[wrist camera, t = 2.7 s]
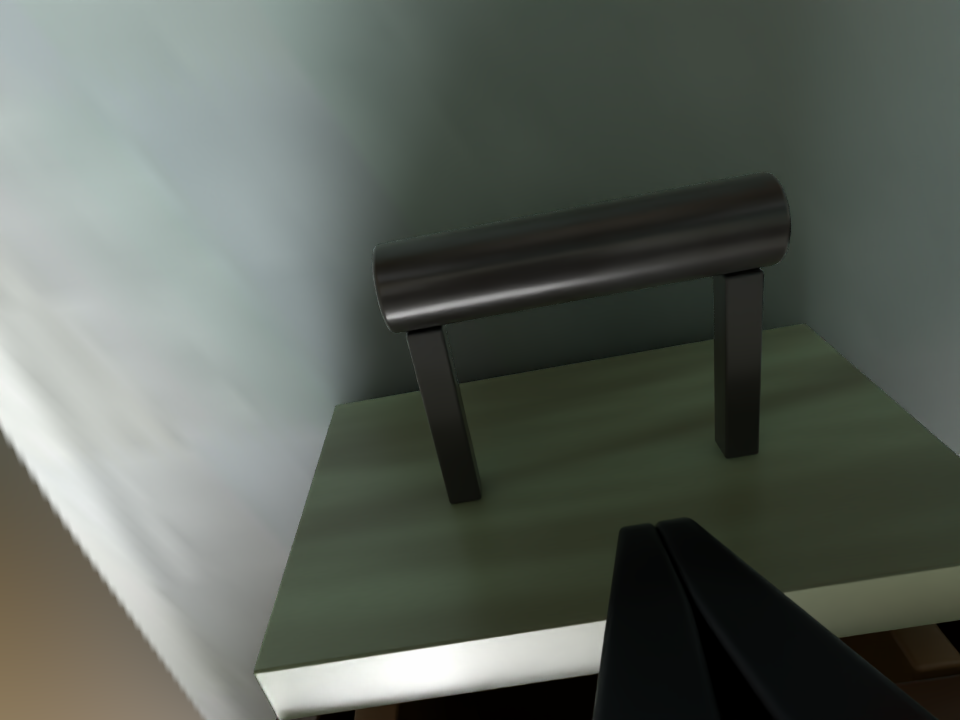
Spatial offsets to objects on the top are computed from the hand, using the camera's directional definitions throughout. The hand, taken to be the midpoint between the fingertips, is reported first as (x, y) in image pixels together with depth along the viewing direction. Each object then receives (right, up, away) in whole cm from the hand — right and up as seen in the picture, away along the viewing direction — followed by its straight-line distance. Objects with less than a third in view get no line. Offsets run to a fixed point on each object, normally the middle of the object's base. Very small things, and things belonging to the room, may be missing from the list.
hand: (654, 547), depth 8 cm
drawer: (+1, -2, +10) cm, 10 cm away
